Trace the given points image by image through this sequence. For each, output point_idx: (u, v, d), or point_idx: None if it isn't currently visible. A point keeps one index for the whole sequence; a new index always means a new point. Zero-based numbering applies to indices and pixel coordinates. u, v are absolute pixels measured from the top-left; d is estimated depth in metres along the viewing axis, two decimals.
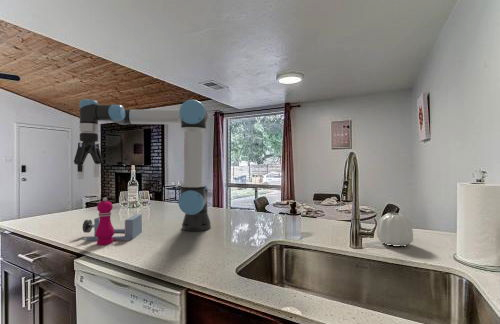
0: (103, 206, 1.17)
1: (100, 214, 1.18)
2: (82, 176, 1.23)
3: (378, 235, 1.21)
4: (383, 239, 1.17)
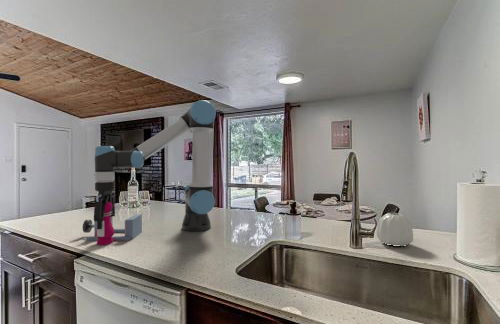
0: None
1: None
2: (102, 233, 1.16)
3: (378, 235, 1.21)
4: (383, 239, 1.17)
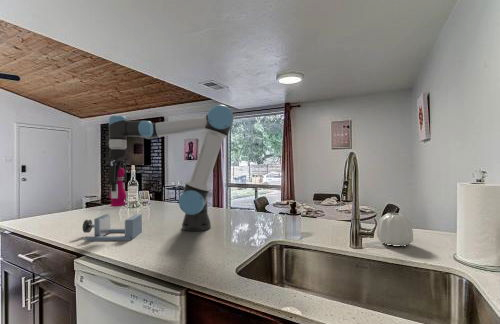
0: None
1: None
2: (116, 195, 1.27)
3: (378, 235, 1.21)
4: (383, 239, 1.17)
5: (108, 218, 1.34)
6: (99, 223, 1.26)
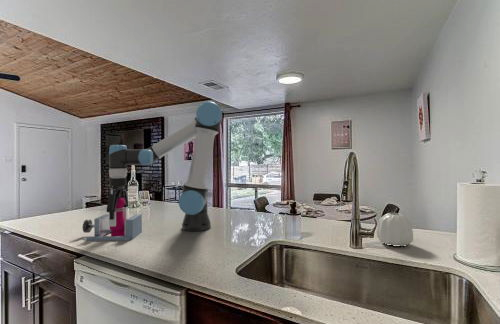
0: None
1: None
2: (114, 223, 1.25)
3: (378, 235, 1.21)
4: (383, 239, 1.17)
5: (108, 218, 1.34)
6: (99, 223, 1.26)
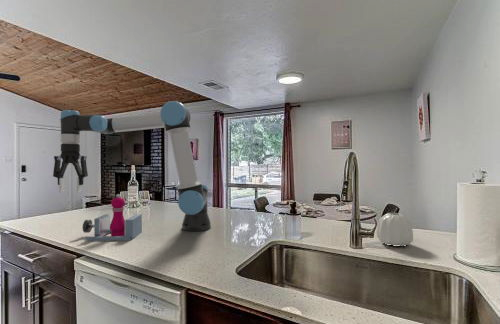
0: (116, 202, 1.28)
1: (114, 209, 1.29)
2: None
3: (378, 235, 1.21)
4: (383, 239, 1.17)
5: (108, 218, 1.34)
6: (99, 223, 1.26)
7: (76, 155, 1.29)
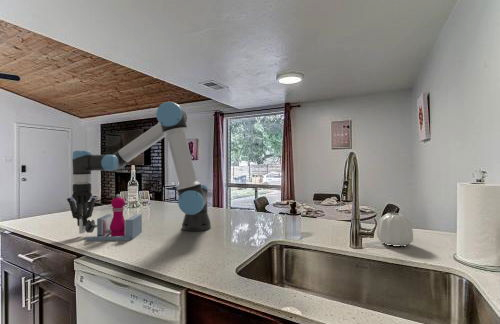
0: (116, 202, 1.28)
1: (114, 209, 1.29)
2: None
3: (378, 235, 1.21)
4: (383, 239, 1.17)
5: (111, 218, 1.34)
6: (102, 223, 1.26)
7: (88, 195, 1.29)
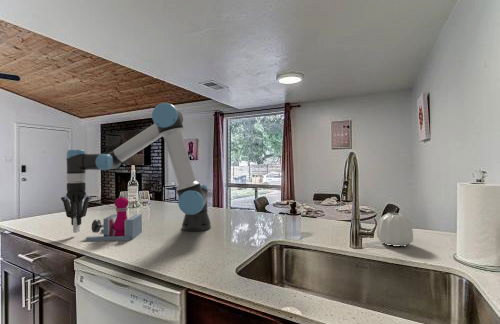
0: (120, 202, 1.28)
1: (117, 209, 1.29)
2: None
3: (378, 235, 1.21)
4: (383, 239, 1.17)
5: None
6: (108, 223, 1.26)
7: (82, 194, 1.29)
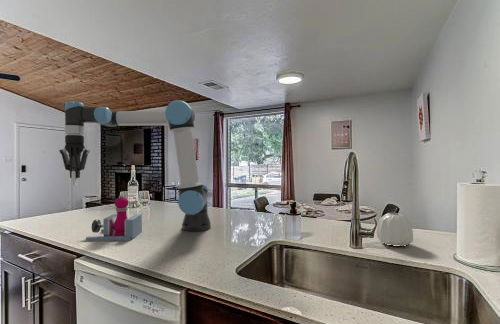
0: (120, 202, 1.28)
1: (117, 209, 1.29)
2: None
3: (378, 235, 1.21)
4: (383, 239, 1.17)
5: None
6: (108, 223, 1.26)
7: (80, 147, 1.29)
